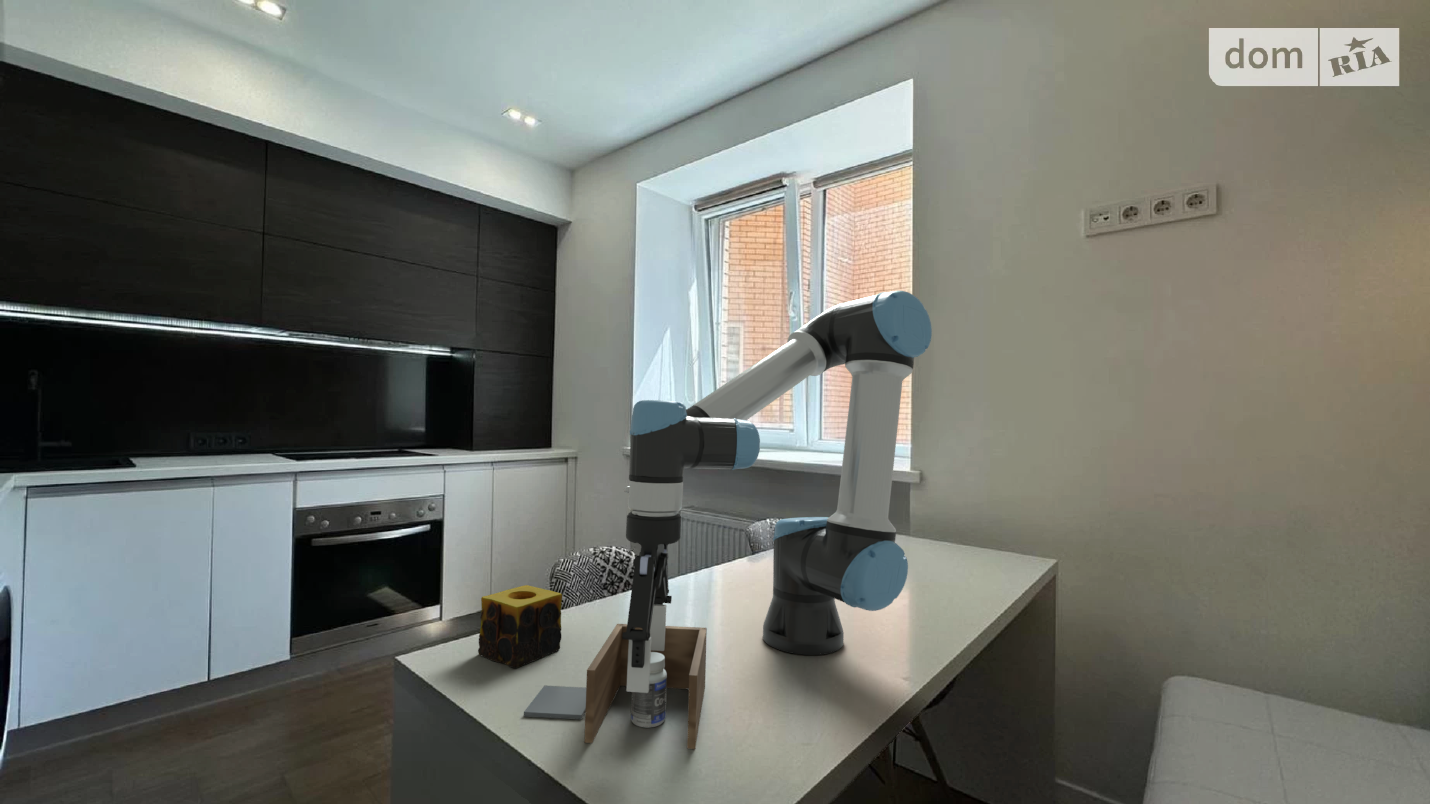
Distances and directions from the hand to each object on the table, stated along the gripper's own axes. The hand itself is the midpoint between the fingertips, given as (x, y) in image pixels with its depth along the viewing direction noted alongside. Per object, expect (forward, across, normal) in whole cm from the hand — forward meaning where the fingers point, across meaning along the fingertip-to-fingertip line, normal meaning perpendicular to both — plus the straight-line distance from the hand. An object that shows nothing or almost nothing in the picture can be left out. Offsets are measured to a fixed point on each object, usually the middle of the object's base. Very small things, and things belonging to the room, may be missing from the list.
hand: (647, 668), depth 78 cm
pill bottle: (+7, 0, 0) cm, 7 cm away
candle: (+7, -20, -26) cm, 33 cm away
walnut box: (+7, -2, 0) cm, 7 cm away
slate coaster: (+7, -3, -13) cm, 15 cm away
